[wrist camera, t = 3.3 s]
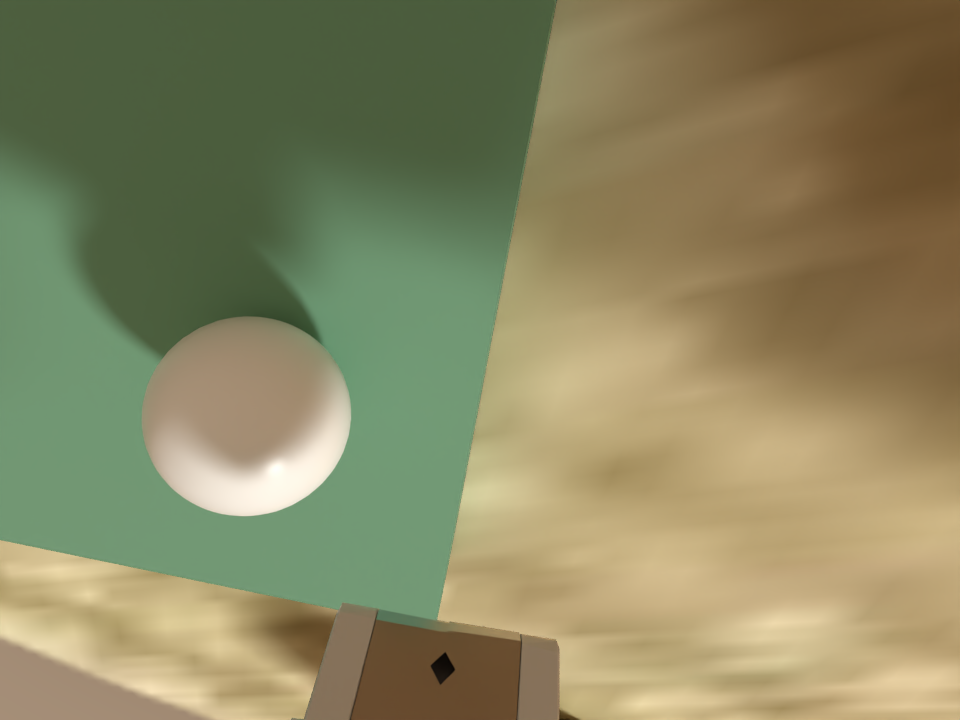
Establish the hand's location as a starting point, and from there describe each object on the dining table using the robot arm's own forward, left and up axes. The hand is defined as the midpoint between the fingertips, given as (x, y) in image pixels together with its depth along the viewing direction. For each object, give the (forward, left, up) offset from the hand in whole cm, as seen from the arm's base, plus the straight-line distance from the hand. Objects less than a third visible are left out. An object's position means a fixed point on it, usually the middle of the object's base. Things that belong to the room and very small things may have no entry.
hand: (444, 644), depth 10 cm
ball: (+4, 0, -4) cm, 6 cm away
